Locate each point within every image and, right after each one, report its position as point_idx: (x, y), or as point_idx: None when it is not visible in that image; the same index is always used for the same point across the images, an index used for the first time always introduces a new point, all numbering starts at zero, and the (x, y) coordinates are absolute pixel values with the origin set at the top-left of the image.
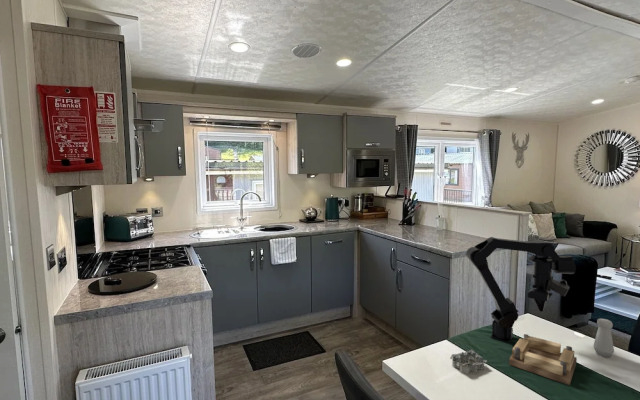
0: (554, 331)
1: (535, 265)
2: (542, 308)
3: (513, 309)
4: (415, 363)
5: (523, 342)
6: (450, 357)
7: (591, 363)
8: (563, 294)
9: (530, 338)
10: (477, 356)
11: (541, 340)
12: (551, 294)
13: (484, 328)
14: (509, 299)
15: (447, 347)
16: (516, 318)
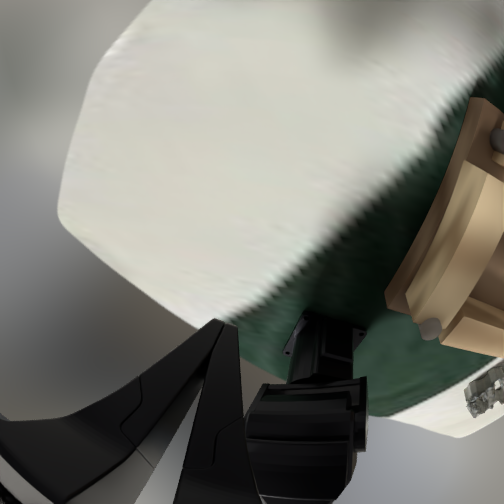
0: (128, 128)
1: None
2: (237, 364)
3: (351, 462)
4: (464, 426)
5: (474, 334)
6: (478, 415)
7: (441, 30)
8: None
9: (446, 312)
10: (485, 391)
11: (465, 269)
12: (8, 460)
13: (263, 368)
14: (281, 497)
15: (414, 417)
16: (347, 404)
